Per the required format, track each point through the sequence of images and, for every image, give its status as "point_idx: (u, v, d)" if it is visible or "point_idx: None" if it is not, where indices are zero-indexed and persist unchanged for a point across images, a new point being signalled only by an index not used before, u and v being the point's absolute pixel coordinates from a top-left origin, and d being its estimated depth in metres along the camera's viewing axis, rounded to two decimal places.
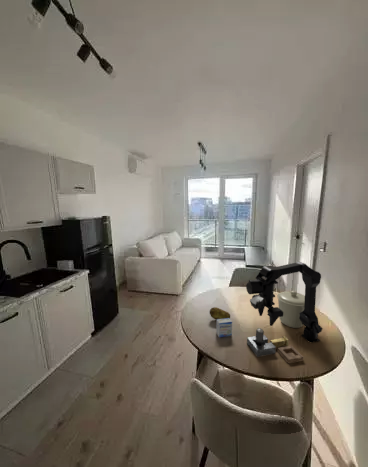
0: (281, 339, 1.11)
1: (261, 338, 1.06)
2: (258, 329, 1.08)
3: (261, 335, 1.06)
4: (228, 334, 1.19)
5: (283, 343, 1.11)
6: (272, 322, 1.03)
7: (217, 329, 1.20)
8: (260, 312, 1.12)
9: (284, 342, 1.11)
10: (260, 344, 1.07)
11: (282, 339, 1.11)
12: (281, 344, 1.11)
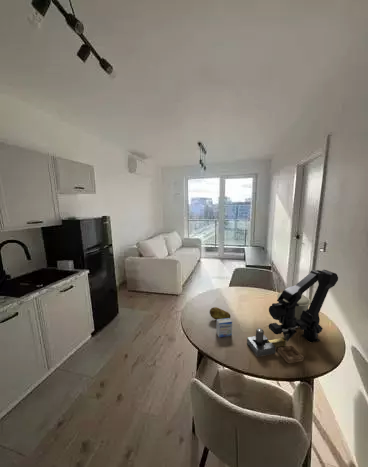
0: (279, 339, 1.11)
1: (261, 338, 1.06)
2: (258, 329, 1.08)
3: (261, 335, 1.06)
4: (228, 334, 1.19)
5: (281, 343, 1.10)
6: (285, 337, 1.12)
7: (217, 329, 1.20)
8: None
9: (282, 342, 1.11)
10: (260, 344, 1.07)
11: (280, 339, 1.11)
12: (279, 344, 1.10)
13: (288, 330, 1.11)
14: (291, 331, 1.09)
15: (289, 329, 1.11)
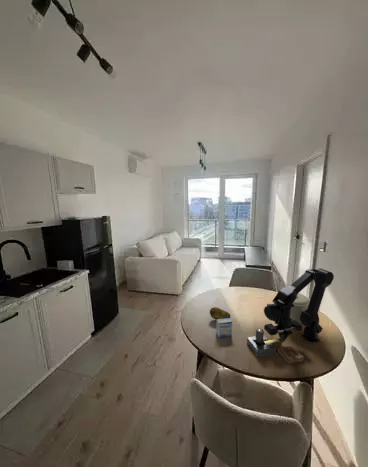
0: (274, 340, 1.11)
1: (261, 338, 1.06)
2: (258, 329, 1.08)
3: (261, 335, 1.06)
4: (228, 334, 1.19)
5: (276, 344, 1.10)
6: (280, 338, 1.11)
7: (217, 329, 1.20)
8: None
9: (277, 343, 1.10)
10: (260, 344, 1.07)
11: (275, 340, 1.11)
12: (274, 345, 1.10)
13: (283, 331, 1.11)
14: (286, 332, 1.09)
15: (284, 330, 1.10)
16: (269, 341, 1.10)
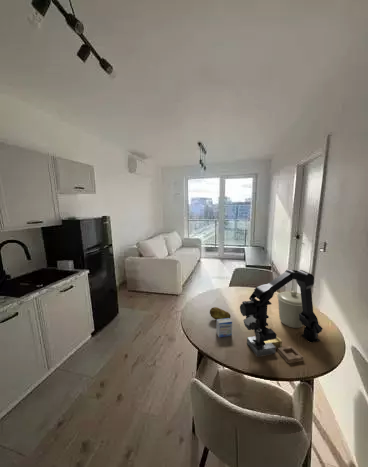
0: (274, 340, 1.11)
1: None
2: (258, 329, 1.08)
3: None
4: (228, 334, 1.19)
5: (276, 344, 1.10)
6: (262, 340, 1.05)
7: (217, 329, 1.20)
8: None
9: (277, 343, 1.10)
10: (260, 344, 1.07)
11: (275, 340, 1.11)
12: (274, 345, 1.10)
13: None
14: None
15: None
16: (269, 341, 1.10)
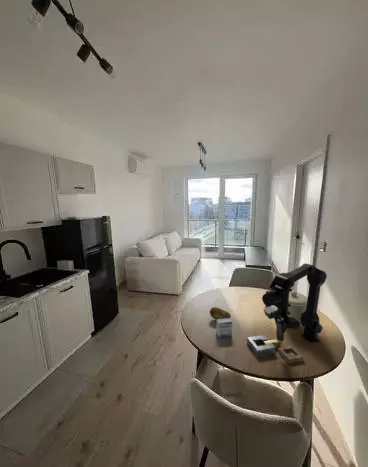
0: (274, 340, 1.11)
1: None
2: (279, 318, 1.03)
3: None
4: (228, 334, 1.19)
5: (276, 344, 1.10)
6: (284, 329, 1.01)
7: (217, 329, 1.20)
8: None
9: (277, 343, 1.10)
10: (281, 334, 1.02)
11: (275, 340, 1.11)
12: (274, 345, 1.10)
13: None
14: None
15: None
16: (269, 341, 1.10)
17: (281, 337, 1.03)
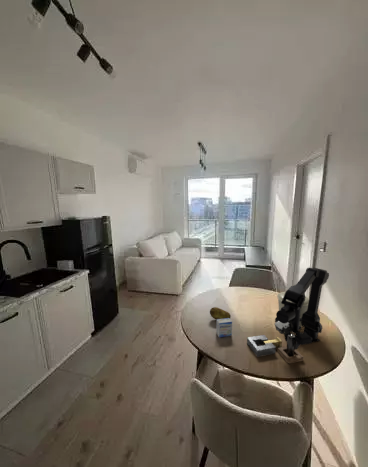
0: (274, 340, 1.11)
1: (293, 344, 1.01)
2: (290, 334, 1.03)
3: (293, 341, 1.01)
4: (228, 334, 1.19)
5: (276, 344, 1.10)
6: (297, 346, 0.99)
7: (217, 329, 1.20)
8: (286, 337, 1.05)
9: (277, 343, 1.10)
10: (292, 350, 1.02)
11: (275, 340, 1.11)
12: (274, 345, 1.10)
13: None
14: None
15: None
16: (269, 341, 1.10)
17: (291, 353, 1.02)
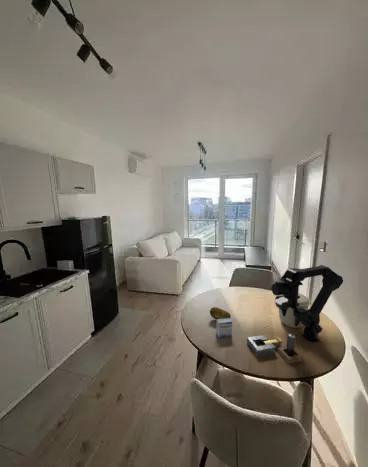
0: (274, 340, 1.11)
1: (293, 344, 1.01)
2: (290, 334, 1.02)
3: (293, 341, 1.01)
4: (228, 334, 1.19)
5: (276, 344, 1.10)
6: (297, 322, 1.06)
7: (217, 329, 1.20)
8: (283, 313, 1.16)
9: (277, 343, 1.10)
10: (292, 350, 1.02)
11: (275, 340, 1.11)
12: (274, 345, 1.10)
13: None
14: None
15: None
16: (269, 341, 1.10)
17: (291, 354, 1.02)
